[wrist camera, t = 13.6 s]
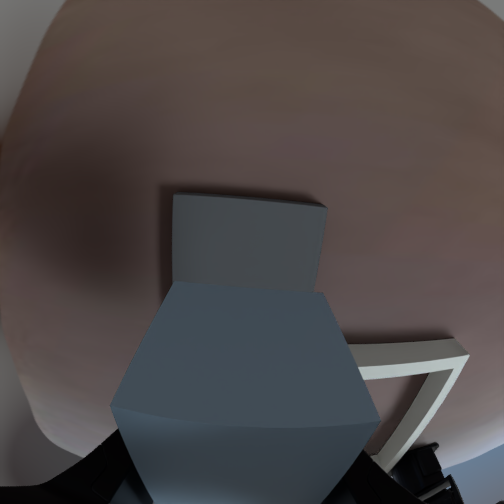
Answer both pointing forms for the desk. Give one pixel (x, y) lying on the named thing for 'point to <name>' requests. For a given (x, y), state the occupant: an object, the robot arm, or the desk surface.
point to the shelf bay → (410, 363)
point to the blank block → (243, 398)
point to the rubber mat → (246, 241)
